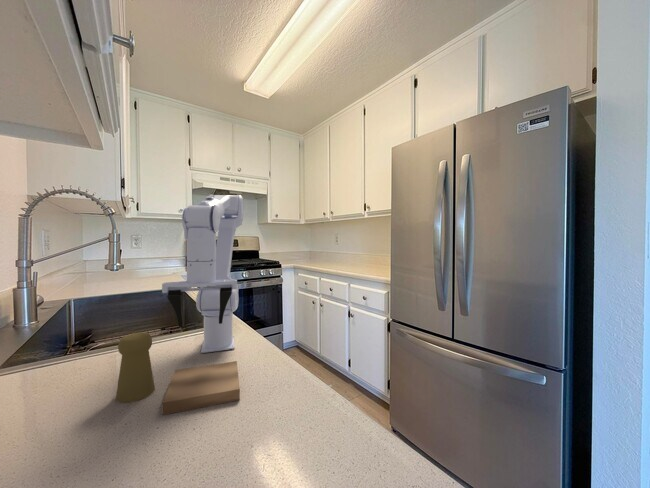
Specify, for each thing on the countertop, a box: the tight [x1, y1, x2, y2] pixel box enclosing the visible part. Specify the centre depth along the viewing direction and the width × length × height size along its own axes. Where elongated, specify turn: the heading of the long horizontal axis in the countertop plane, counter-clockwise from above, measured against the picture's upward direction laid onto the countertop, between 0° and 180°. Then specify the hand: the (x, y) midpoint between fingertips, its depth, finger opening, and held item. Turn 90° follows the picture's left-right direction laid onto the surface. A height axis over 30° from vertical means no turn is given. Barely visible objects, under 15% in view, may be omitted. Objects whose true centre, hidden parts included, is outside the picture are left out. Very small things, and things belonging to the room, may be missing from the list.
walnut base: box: [162, 360, 241, 416], centre depth 52 cm, size 12×12×2 cm
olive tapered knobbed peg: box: [115, 331, 156, 404], centre depth 51 cm, size 6×6×11 cm
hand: (201, 324), depth 59 cm, fingers open, 7 cm apart
